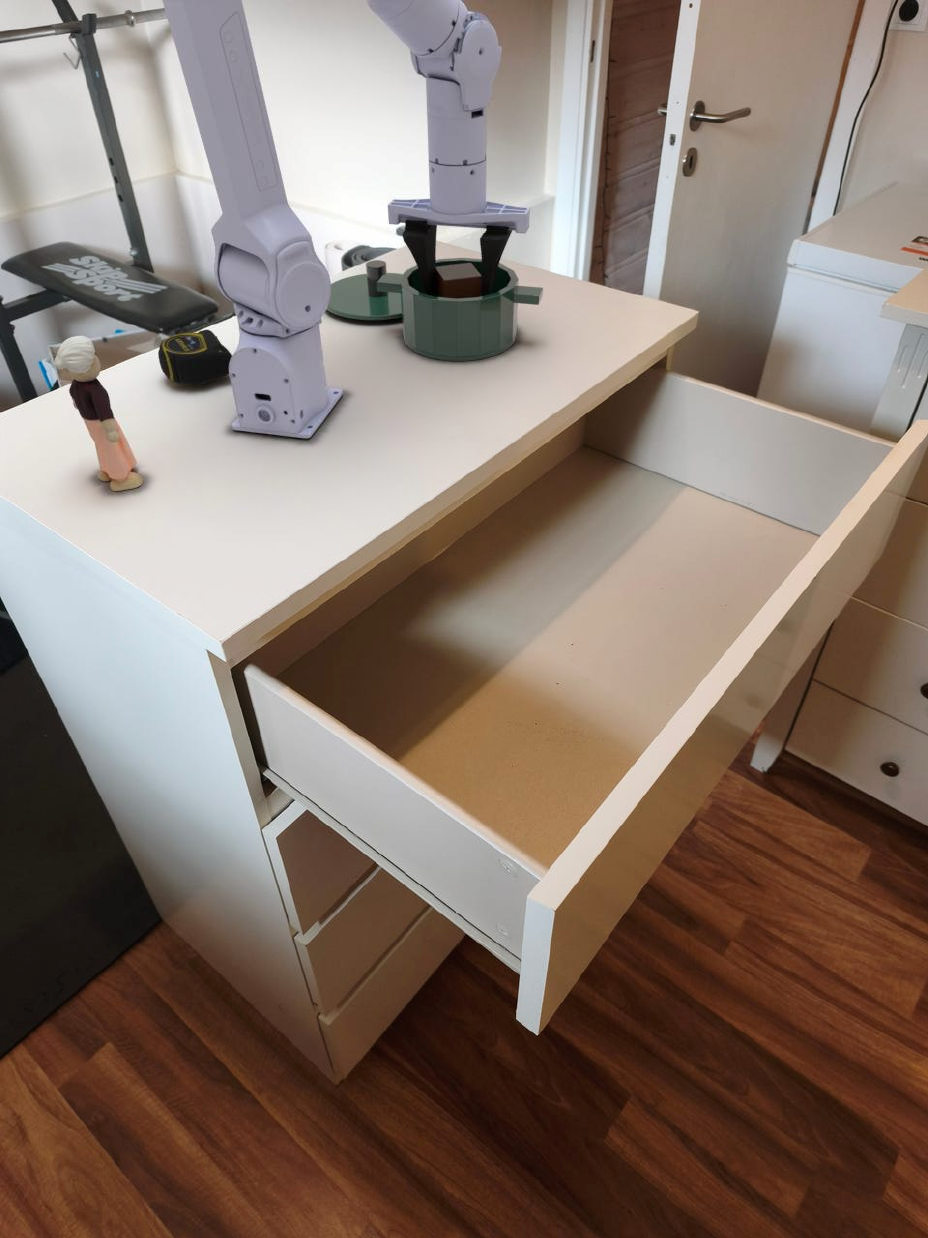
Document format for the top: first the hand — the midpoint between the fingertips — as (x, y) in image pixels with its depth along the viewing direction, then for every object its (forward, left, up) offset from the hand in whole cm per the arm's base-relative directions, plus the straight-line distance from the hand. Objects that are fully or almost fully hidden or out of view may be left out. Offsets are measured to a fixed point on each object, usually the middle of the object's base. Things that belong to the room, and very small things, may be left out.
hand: (459, 296), depth 93 cm
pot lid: (+7, +12, -4) cm, 15 cm away
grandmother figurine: (-35, +22, -5) cm, 42 cm away
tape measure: (-15, +24, -5) cm, 29 cm away
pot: (0, 0, -5) cm, 5 cm away
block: (0, 0, -1) cm, 1 cm away
